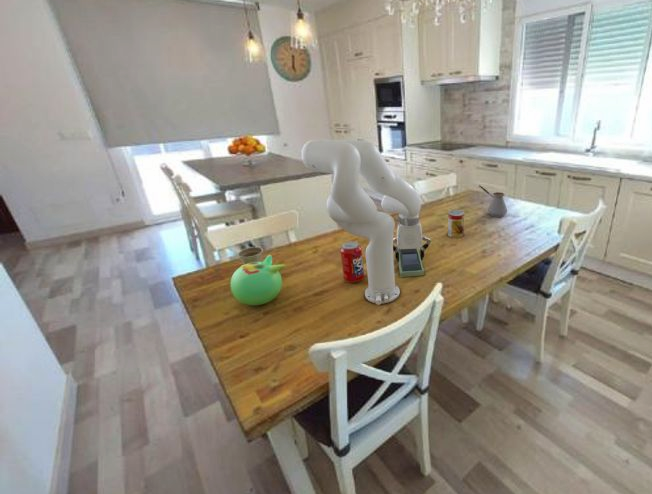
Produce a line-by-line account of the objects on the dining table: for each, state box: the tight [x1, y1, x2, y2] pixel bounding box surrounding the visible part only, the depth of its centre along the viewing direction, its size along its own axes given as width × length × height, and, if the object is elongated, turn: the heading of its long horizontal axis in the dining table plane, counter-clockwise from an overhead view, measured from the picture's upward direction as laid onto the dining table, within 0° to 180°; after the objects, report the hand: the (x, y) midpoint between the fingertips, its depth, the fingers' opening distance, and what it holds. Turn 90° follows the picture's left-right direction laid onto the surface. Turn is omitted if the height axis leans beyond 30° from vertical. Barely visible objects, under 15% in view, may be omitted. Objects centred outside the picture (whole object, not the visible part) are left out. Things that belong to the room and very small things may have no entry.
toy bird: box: [229, 254, 286, 306], centre depth 112 cm, size 18×17×15 cm
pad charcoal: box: [401, 249, 416, 260], centre depth 142 cm, size 9×6×4 cm, turn 7°
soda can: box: [339, 241, 365, 284], centre depth 124 cm, size 8×8×15 cm
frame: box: [398, 248, 425, 278], centre depth 138 cm, size 23×10×2 cm, turn 7°
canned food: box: [447, 209, 465, 239], centre depth 162 cm, size 8×8×12 cm
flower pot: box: [237, 246, 264, 265], centre depth 132 cm, size 9×9×9 cm
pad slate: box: [402, 254, 419, 271], centre depth 132 cm, size 9×6×4 cm, turn 7°
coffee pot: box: [478, 184, 508, 218], centre depth 190 cm, size 21×12×15 cm, turn 39°
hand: (409, 259), depth 131 cm, fingers open, 9 cm apart
